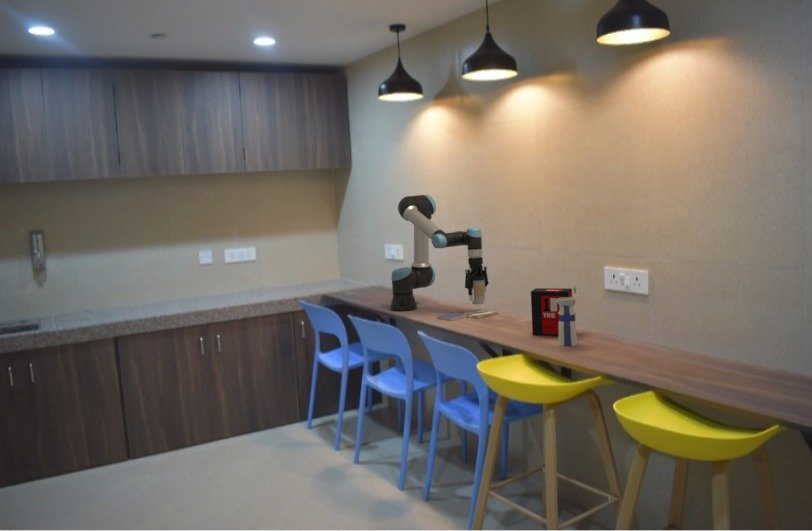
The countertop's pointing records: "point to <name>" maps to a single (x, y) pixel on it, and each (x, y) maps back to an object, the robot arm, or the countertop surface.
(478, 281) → the coffee cup
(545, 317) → the cleaning product box
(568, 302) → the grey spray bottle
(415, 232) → the robot arm
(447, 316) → the ink pad
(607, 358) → the countertop surface
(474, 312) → the board
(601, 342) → the countertop surface
